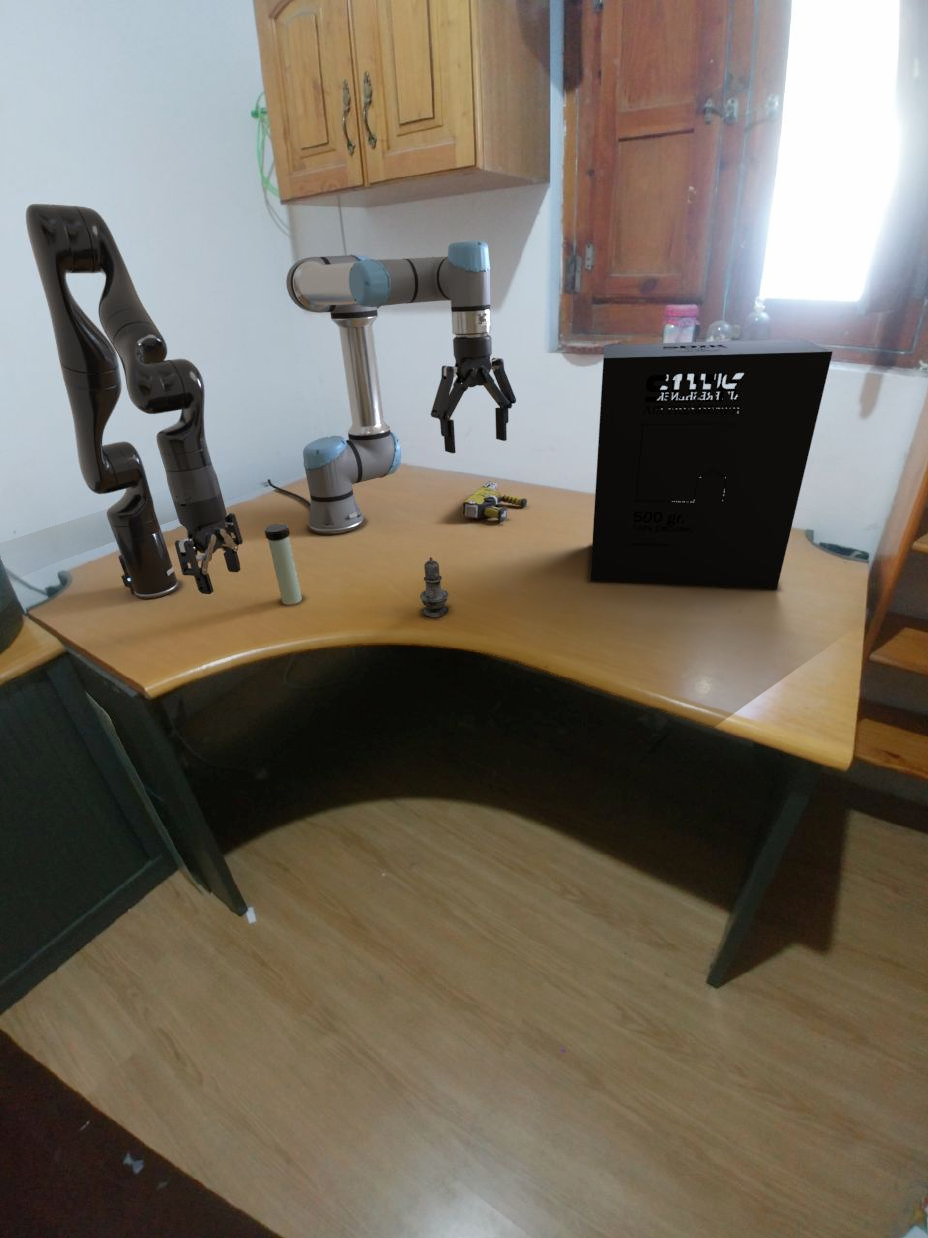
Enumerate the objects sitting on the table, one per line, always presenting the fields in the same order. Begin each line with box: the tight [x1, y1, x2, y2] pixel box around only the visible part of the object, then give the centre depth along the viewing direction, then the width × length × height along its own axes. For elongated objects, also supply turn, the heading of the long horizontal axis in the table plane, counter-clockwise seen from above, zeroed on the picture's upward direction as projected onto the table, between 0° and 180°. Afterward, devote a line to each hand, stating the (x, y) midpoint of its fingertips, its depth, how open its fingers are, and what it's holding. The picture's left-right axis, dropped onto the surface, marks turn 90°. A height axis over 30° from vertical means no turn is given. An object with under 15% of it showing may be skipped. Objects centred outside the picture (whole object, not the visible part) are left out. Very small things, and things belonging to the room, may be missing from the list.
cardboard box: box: [589, 338, 834, 590], centre depth 125 cm, size 38×20×45 cm, turn 78°
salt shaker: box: [419, 556, 450, 618], centre depth 120 cm, size 6×6×12 cm
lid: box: [264, 523, 290, 541], centre depth 123 cm, size 5×5×2 cm
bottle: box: [267, 535, 303, 606], centre depth 127 cm, size 4×4×16 cm
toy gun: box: [461, 480, 528, 523], centre depth 173 cm, size 5×24×15 cm
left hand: (221, 581), depth 106 cm, fingers open, 8 cm apart
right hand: (476, 445), depth 127 cm, fingers open, 13 cm apart
